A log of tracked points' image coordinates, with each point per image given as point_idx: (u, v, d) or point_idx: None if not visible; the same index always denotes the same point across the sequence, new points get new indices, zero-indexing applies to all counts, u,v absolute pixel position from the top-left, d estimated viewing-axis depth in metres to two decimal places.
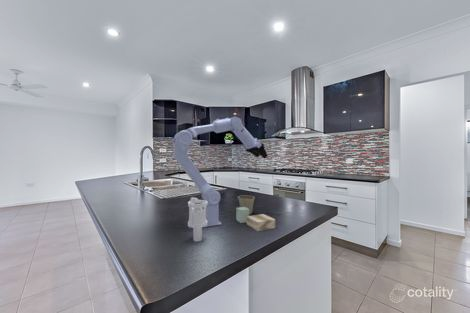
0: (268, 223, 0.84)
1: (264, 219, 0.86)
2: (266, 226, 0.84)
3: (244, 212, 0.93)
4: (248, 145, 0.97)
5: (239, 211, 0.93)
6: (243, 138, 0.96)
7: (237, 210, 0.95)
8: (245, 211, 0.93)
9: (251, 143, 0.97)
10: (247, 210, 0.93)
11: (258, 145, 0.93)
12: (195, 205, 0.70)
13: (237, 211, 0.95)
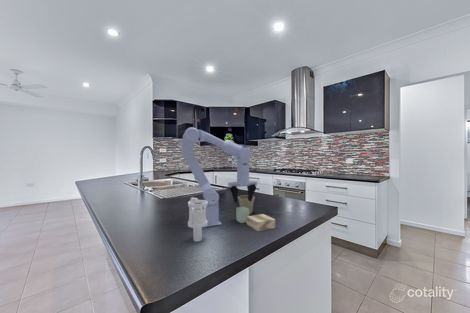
0: (269, 223, 0.84)
1: (264, 219, 0.86)
2: (266, 226, 0.84)
3: (244, 212, 0.93)
4: None
5: (239, 211, 0.93)
6: (240, 171, 0.92)
7: (237, 210, 0.95)
8: (245, 211, 0.93)
9: (237, 180, 0.94)
10: (247, 210, 0.93)
11: (228, 184, 0.92)
12: (195, 205, 0.70)
13: (237, 211, 0.95)
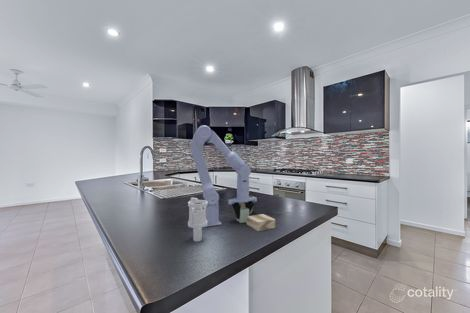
0: (269, 223, 0.84)
1: (264, 219, 0.86)
2: (266, 226, 0.84)
3: (244, 212, 0.93)
4: None
5: None
6: (239, 188, 0.92)
7: None
8: (245, 211, 0.93)
9: (237, 197, 0.94)
10: (247, 210, 0.93)
11: (228, 201, 0.92)
12: (195, 205, 0.70)
13: None
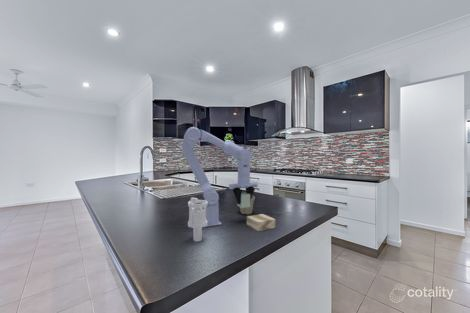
0: (269, 223, 0.84)
1: (264, 219, 0.86)
2: (266, 226, 0.84)
3: (245, 197, 0.92)
4: None
5: None
6: (240, 173, 0.92)
7: None
8: (246, 196, 0.93)
9: None
10: (248, 195, 0.93)
11: (229, 186, 0.92)
12: (195, 205, 0.70)
13: None
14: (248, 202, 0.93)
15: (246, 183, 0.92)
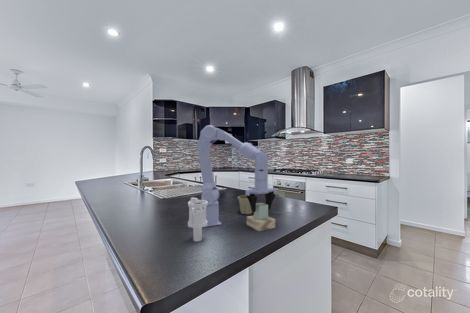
0: (269, 223, 0.85)
1: (264, 219, 0.86)
2: (266, 226, 0.84)
3: (263, 208, 0.86)
4: None
5: (257, 207, 0.86)
6: (256, 177, 0.86)
7: None
8: (264, 207, 0.86)
9: None
10: (266, 206, 0.87)
11: (246, 192, 0.85)
12: (195, 205, 0.70)
13: None
14: (266, 213, 0.87)
15: (264, 189, 0.85)
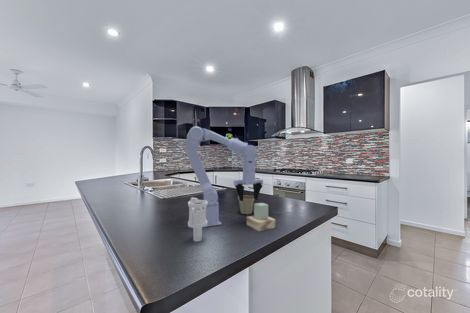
0: (269, 223, 0.84)
1: (264, 219, 0.86)
2: (266, 226, 0.84)
3: (263, 208, 0.86)
4: None
5: (257, 207, 0.86)
6: (245, 169, 0.91)
7: (255, 206, 0.88)
8: (264, 207, 0.86)
9: None
10: (266, 206, 0.87)
11: (234, 182, 0.90)
12: (195, 205, 0.70)
13: (255, 207, 0.88)
14: (266, 213, 0.87)
15: (251, 179, 0.91)
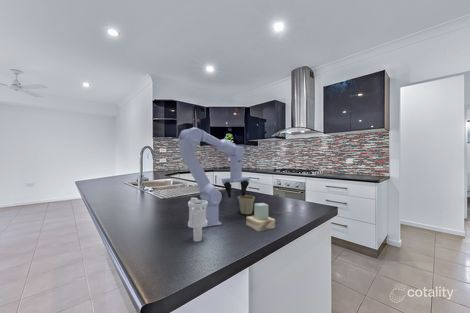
0: (269, 223, 0.84)
1: (264, 219, 0.86)
2: (266, 226, 0.84)
3: (263, 208, 0.86)
4: None
5: (257, 207, 0.86)
6: (235, 168, 0.97)
7: (255, 206, 0.88)
8: (264, 207, 0.86)
9: (230, 176, 0.99)
10: (266, 206, 0.86)
11: (222, 180, 0.97)
12: (195, 205, 0.70)
13: (255, 207, 0.88)
14: (266, 214, 0.86)
15: (238, 177, 0.97)
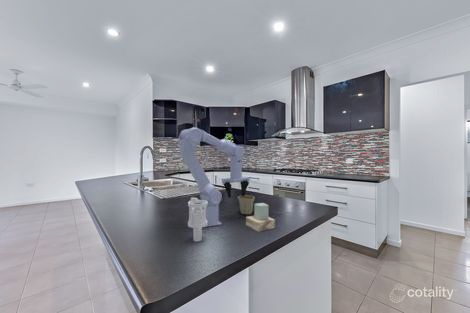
0: (268, 223, 0.84)
1: None
2: (266, 226, 0.84)
3: (263, 208, 0.85)
4: None
5: (257, 207, 0.86)
6: (235, 168, 0.97)
7: (255, 206, 0.88)
8: (264, 207, 0.86)
9: (230, 176, 0.99)
10: (266, 206, 0.86)
11: (222, 180, 0.97)
12: (195, 205, 0.70)
13: (255, 207, 0.88)
14: (266, 214, 0.86)
15: (238, 177, 0.97)
